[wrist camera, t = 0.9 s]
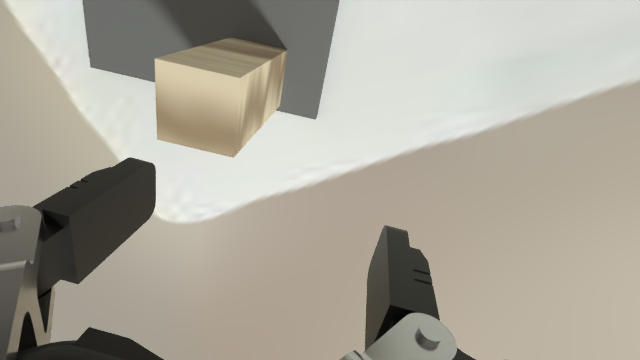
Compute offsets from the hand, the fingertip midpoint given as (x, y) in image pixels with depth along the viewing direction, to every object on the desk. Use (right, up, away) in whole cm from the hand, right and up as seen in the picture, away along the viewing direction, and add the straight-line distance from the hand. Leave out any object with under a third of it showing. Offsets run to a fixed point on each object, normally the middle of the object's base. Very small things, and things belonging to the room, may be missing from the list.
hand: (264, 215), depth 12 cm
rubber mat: (-8, +14, +20) cm, 25 cm away
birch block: (-4, +11, +20) cm, 23 cm away
